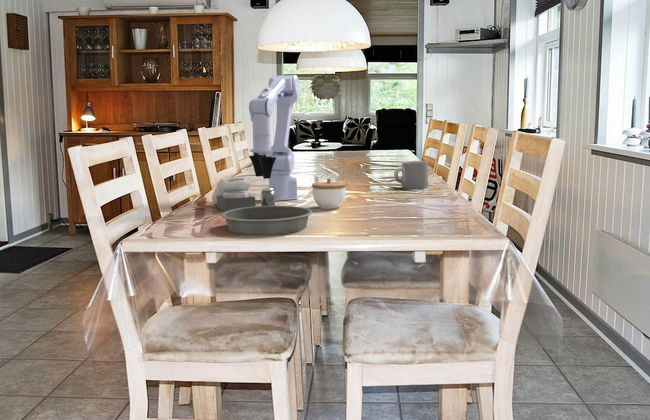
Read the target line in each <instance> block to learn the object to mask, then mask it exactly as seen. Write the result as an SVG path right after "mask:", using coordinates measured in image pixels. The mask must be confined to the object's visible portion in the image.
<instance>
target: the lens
mask: <svg viewBox="0 0 650 420" xmlns="http://www.w3.org/2000/svg"><path fill="white" fill-rule="evenodd" d="M260 202H261V206H276V201H275V191H274V188H269V187H264V188H261V191H260Z"/></svg>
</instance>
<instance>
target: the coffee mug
mask: <svg viewBox="0 0 650 420" xmlns="http://www.w3.org/2000/svg"><path fill="white" fill-rule="evenodd" d="M399 172H401V178H399ZM393 177H394V180H395V182H397V183H399V184H401V188H402V189H403V190H404V189H405V190H425V188H426V189H428V188H429V161H425V160H405V161H402V162H401V166H399V167H396V168H395V170H394V173H393Z"/></svg>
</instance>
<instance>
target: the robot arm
mask: <svg viewBox="0 0 650 420" xmlns="http://www.w3.org/2000/svg"><path fill="white" fill-rule="evenodd" d="M300 88H301V87H300V80H299V77H298V75H296V74H294V75H293V74H291V75H290V74H289V75H271V76H270V77H269V79H268V87H264V88H263V90H261V92H260V94H259V95H258V96H257V97H256V98H255V97H254V98H252V99H251V100H250V102H249V104H248V110H249V115H250V121H251V122H252V147H253V148H252V149H249V152H250V153H251V155H249V156H248V157H249V160H250V162H251V163H252V166H253V170H254V174H255V177H262V178H263V180H265V179H266V180H268V188H274V191H275V202H277V201H287V200H289V201H290V200H291V201H292V200H299V197H298V182H297V176H296V174H295V173H292V172H293V171H294V169H295V155H294V152H293V151H292V150H291V149H290V148H289V147H288V144H289V137H290V131H291V129H290V128H291V121H292V115H293V114H292V113H293V107H294V104H295V103H296V102H297V101H298V100H299V99H298V98H299V95H300ZM276 103H277V104H278V111H277V117H276V123H275V132H274V139H273V144H271V143H272V142H271V139H272V138H271V136H272V135H271V116H272V115H273V111H274V107H275V106H274V105H275V104H276Z"/></svg>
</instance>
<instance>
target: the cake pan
mask: <svg viewBox="0 0 650 420" xmlns="http://www.w3.org/2000/svg"><path fill="white" fill-rule="evenodd" d="M312 214H313V211H312V210H311V209H309V208H307V207H300V206H295V205H275V206H262V205H257V206H256V205H255V207H245V208H238V209H233V210H229V211H226V212H225V211H223V212H222V213H221V218H223V219H225V222H226V225H227V228H228V230H229V232H232V231H233V233H236V234H242V233H243V234H244V235H255V234H267V235H278V234H277V233H283V234H289V233H288V232H291V233H295V231H296V232H300V231H303V230H305V229H306V228H307V226H308V221H309V216H311V215H312ZM304 228H305V229H304ZM302 229H303V230H302ZM299 230H300V231H299ZM243 234H242V235H243Z"/></svg>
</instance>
